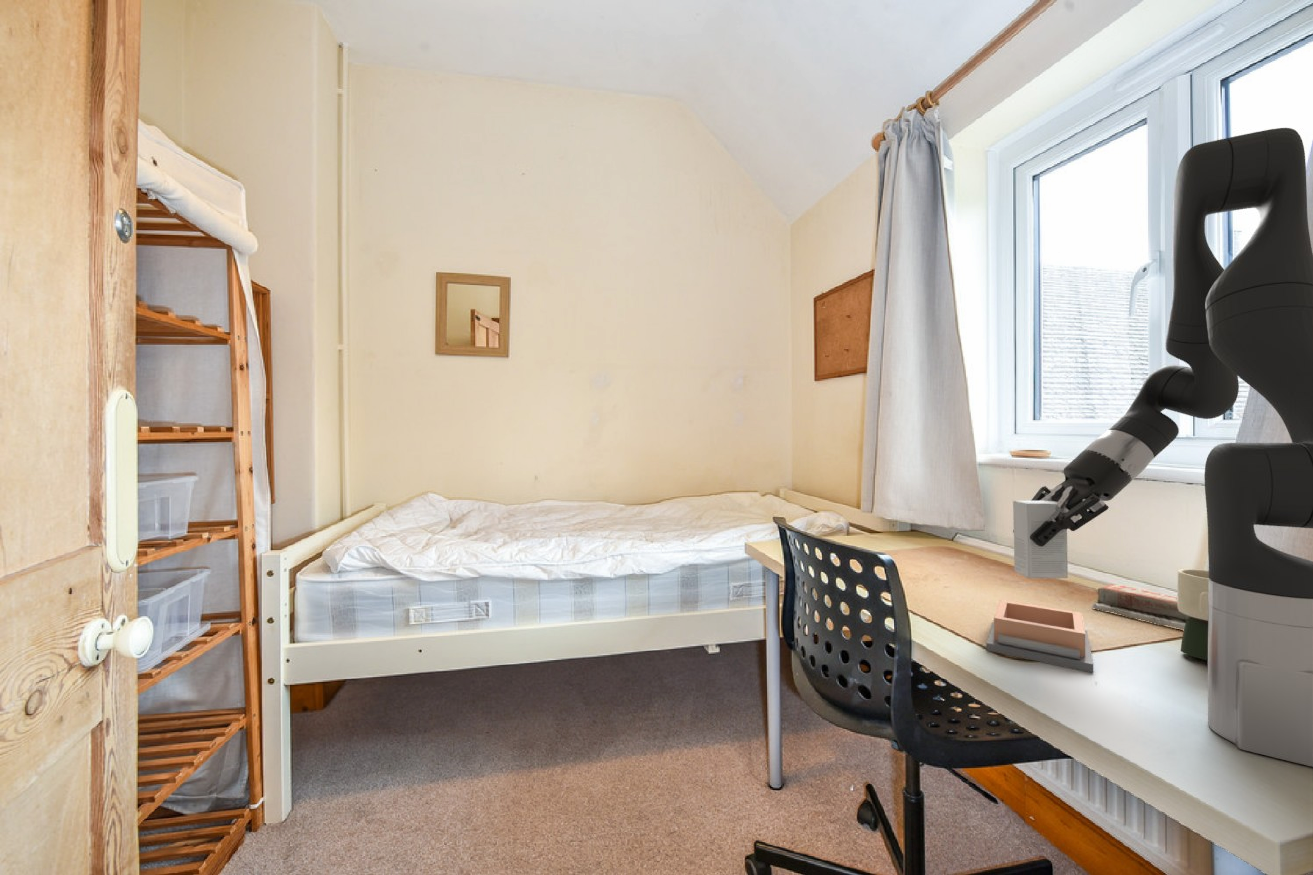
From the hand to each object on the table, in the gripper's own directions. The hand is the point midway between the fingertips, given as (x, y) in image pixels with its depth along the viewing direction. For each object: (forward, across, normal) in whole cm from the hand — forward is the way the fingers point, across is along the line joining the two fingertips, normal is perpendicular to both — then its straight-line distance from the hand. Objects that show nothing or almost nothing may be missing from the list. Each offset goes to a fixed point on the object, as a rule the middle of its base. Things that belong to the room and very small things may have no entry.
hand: (1026, 538), depth 86 cm
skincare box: (+3, 0, +6) cm, 6 cm away
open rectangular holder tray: (+11, 0, +13) cm, 17 cm away
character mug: (-4, +4, +29) cm, 30 cm away
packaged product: (-9, -15, +35) cm, 39 cm away
